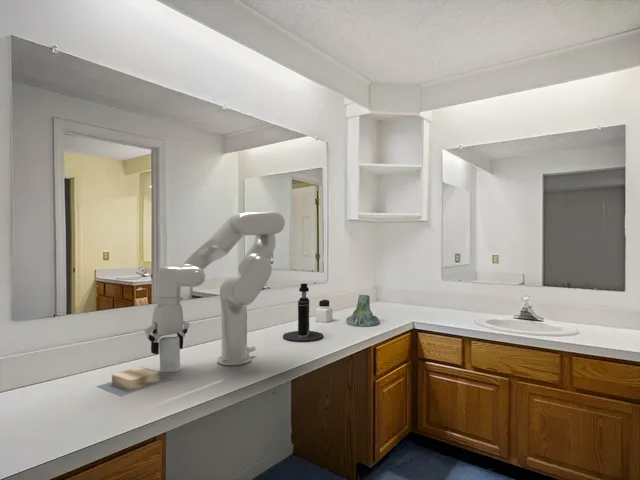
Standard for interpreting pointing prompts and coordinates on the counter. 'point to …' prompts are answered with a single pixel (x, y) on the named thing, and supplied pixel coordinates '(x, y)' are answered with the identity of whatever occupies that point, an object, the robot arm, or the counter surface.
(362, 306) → the tree stump
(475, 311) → the counter surface
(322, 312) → the medicine bottle
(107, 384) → the slate board
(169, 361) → the skincare box
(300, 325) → the vape
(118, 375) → the birch plinth
